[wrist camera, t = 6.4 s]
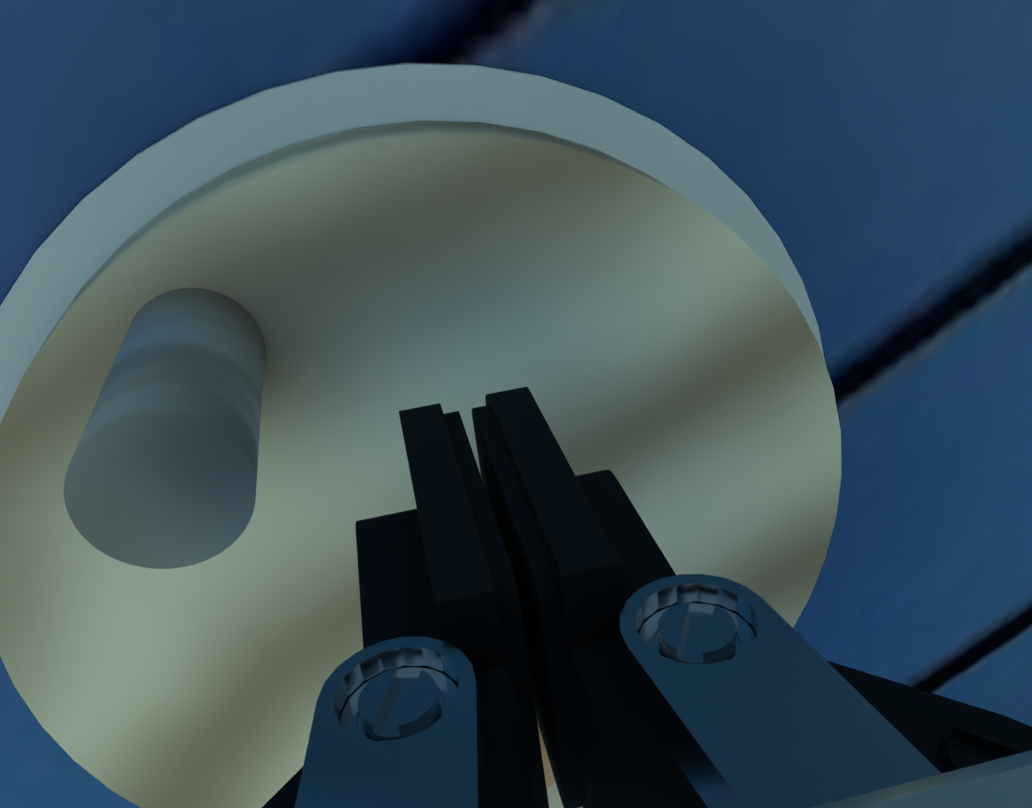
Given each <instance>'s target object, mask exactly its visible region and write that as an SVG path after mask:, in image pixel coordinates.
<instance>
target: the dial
mask: <svg viewBox="0 0 1032 808" xmlns="http://www.w3.org/2000/svg"><path fill="white" fill-rule="evenodd" d="M522 387H528V388H529V390H530V392H531V393H532V395H533V397H534V399H535V401H536V403H537V405H538V407H539V408H540V410H541V412H542V414H543V416H544V418H545V420H546V422H547V423H548V425H549V427H550V429H551V431H552V433H553V435H554V437H555V438H556V440H557V442H558V444H559V446H560V448H561V450H562V451H563V453H564V455H565V457H566V459H567V461H568V463H569V465H570V466H571V468H572V470H573V472H574V474H575V476H577V475H582V474H587V473H592V472H597V471H601V470H606V469H607V470H611V471H612V473H613V474H614V475H615V477H616V478H617V480H618V481H619V483H620V485H621V486H622V488H623V490H624V491H625V493H626V494H627V496H628V498H629V499H630V501H631V502H632V504H633V506H634V507H635V509H636V511H637V512H638V514H639V515H640V517H641V519H642V520H643V522H644V524H645V525H646V527H647V528H648V530H649V532H650V533H651V535H652V536H653V538H654V540H655V541H656V543H657V545H658V546H659V548H660V549H661V551H662V553H663V554H664V556H665V558H666V559H667V561H668V562H669V564H670V566H671V567H672V569H673V571H674V572H675V574H676V575H680V574H706V575H712V576H717V577H723V578H727V579H729V580H732V581H734V582H737V583H739V584H742V585H744V586H746V587H748V588H749V589H750V590H752V591H753V592H755V593H756V594H757V595H759V596H760V597H761V598H763V599H764V600H765V601H766V602H767V603H768V604H769V605H770V606H771V607H772V608H773V609H774V610H775V611H776V612H777V613H778V614H779V615H780V616H781V617H782V618H783V619H784V620H785V621H786V622H787V623H788V624H789V625H790V626H791V627H792V628H794V626H795V624H796V622H797V620H798V618H799V617H800V615H801V613H802V611H803V609H804V607H805V605H806V604H807V602H808V600H809V598H810V596H811V593H812V591H813V588H814V586H815V583H816V581H817V578H818V576H819V573H820V571H821V568H822V566H823V563H824V561H825V558H826V554H827V550H828V547H829V543H830V539H831V535H832V531H833V528H834V524H835V520H836V515H837V507H838V499H839V491H840V483H841V475H842V474H841V430H840V424H839V418H838V412H837V407H836V401H835V395H834V389H833V385H832V382H831V379H830V376H829V373H828V371H827V368H826V365H825V362H824V359H823V356H822V353H821V350H820V347H819V344H818V342H817V340H816V338H815V337H814V335H813V333H812V331H811V329H810V327H809V325H808V323H807V321H806V319H805V318H804V316H803V314H802V312H801V310H800V308H799V306H798V304H797V303H796V301H795V300H794V299H793V297H792V296H791V295H790V293H789V292H788V291H787V289H786V288H785V287H784V285H783V284H782V283H781V281H780V280H779V279H778V277H777V276H776V275H775V274H774V272H773V271H772V270H771V268H770V267H769V266H768V264H767V263H766V262H765V261H764V260H763V259H762V258H761V257H760V256H759V255H758V254H756V253H755V252H754V251H753V250H752V249H751V248H750V247H749V246H748V245H747V244H746V243H745V242H744V241H743V240H742V239H741V238H740V237H739V236H738V235H737V234H735V233H734V232H733V231H732V230H731V229H730V228H729V227H728V226H726V225H725V224H724V223H722V222H721V221H719V220H718V219H716V218H715V217H713V216H712V215H710V214H709V213H708V212H706V211H705V210H703V209H702V208H700V207H699V206H697V205H696V204H694V203H693V202H692V201H690V200H689V199H687V198H686V197H684V196H683V195H681V194H680V193H678V192H676V191H675V190H673V189H671V188H670V187H668V186H666V185H665V184H663V183H661V182H660V181H658V180H656V179H655V178H653V177H652V176H650V175H648V174H647V173H645V172H643V171H641V170H639V169H636V168H634V167H632V166H630V165H628V164H626V163H624V162H622V161H620V160H618V159H616V158H614V157H612V156H610V155H608V154H605V153H603V152H601V151H599V150H597V149H594V148H591V147H588V146H585V145H582V144H578V143H575V142H572V141H569V140H566V139H562V138H559V137H556V136H553V135H550V134H547V133H543V132H539V131H533V130H527V129H521V128H514V127H508V126H502V125H496V124H490V123H484V122H453V121H413V122H404V123H395V124H386V125H377V126H368V127H359V128H354V129H350V130H346V131H342V132H338V133H334V134H330V135H326V136H322V137H318V138H314V139H310V140H306V141H302V142H298V143H294V144H291V145H289V146H286V147H284V148H281V149H279V150H276V151H274V152H271V153H269V154H266V155H264V156H262V157H259V158H257V159H254V160H252V161H249V162H247V163H244V164H242V165H239V166H237V167H234V168H232V169H230V170H228V171H227V172H225V173H223V174H221V175H220V176H218V177H216V178H214V179H213V180H211V181H209V182H208V183H206V184H204V185H202V186H201V187H199V188H197V189H195V190H194V191H192V192H190V193H188V194H187V195H185V196H183V197H181V198H180V199H178V200H176V201H175V202H174V203H172V204H171V205H170V206H169V207H167V208H166V209H165V210H163V211H162V212H161V213H160V214H158V215H157V216H156V217H154V218H153V219H152V220H151V221H149V222H148V223H147V224H146V225H144V226H143V227H142V228H140V229H139V230H138V231H137V232H135V233H134V234H133V235H131V236H130V237H129V238H128V239H126V240H125V241H124V242H123V244H122V245H121V246H120V247H119V248H118V249H117V250H116V251H115V252H114V253H113V254H112V255H111V256H110V257H109V258H108V259H107V260H106V261H105V262H104V264H103V265H102V266H101V267H100V268H99V269H98V270H97V271H96V272H95V273H94V274H93V275H92V276H91V277H90V278H89V279H88V280H87V281H86V282H85V284H84V285H83V286H82V288H81V289H80V291H79V292H78V293H77V295H76V296H75V298H74V299H73V301H72V302H71V304H70V305H69V306H68V308H67V309H66V311H65V312H64V314H63V315H62V317H61V318H60V319H59V321H58V322H57V324H56V325H55V327H54V328H53V329H52V331H51V332H50V334H49V336H48V337H47V339H46V340H45V342H44V343H43V345H42V346H41V348H40V350H39V351H38V353H37V354H36V356H35V357H34V359H33V361H32V362H31V364H30V365H29V367H28V368H27V370H26V372H25V373H24V375H23V377H22V379H21V381H20V383H19V385H18V387H17V389H16V392H15V394H14V396H13V398H12V400H11V402H10V404H9V406H8V408H7V410H6V413H5V415H4V417H3V419H2V421H1V423H0V656H1V658H2V661H3V663H4V665H5V667H6V669H7V671H8V674H9V676H10V678H11V680H12V682H13V684H14V686H15V688H16V689H17V691H18V692H19V694H20V695H21V697H22V698H23V700H24V701H25V702H26V704H27V705H28V707H29V708H30V710H31V711H32V713H33V714H34V716H35V717H36V719H37V720H38V721H39V723H40V724H41V726H42V727H43V728H44V729H45V730H46V731H47V732H48V733H49V734H50V735H51V736H52V738H53V739H54V740H55V741H56V742H57V743H58V744H59V745H60V746H61V747H62V748H63V749H64V750H65V751H66V752H67V753H68V755H69V756H70V757H71V758H72V759H73V760H74V761H75V762H77V763H78V764H79V765H80V766H82V767H83V768H84V769H85V770H87V771H88V772H89V773H90V774H92V775H93V776H94V777H95V778H97V779H98V780H99V781H100V782H102V783H103V784H104V785H105V786H107V787H108V788H109V789H110V790H112V791H114V792H115V793H117V794H119V795H120V796H122V797H124V798H125V799H127V800H129V801H130V802H132V803H134V804H135V805H137V806H139V807H140V808H262V807H263V806H264V805H265V804H266V803H267V802H268V801H269V800H270V799H271V798H272V797H273V796H274V795H275V794H276V793H277V792H278V791H279V790H280V789H281V788H282V787H283V786H284V785H285V784H286V783H287V782H288V781H289V780H290V779H291V778H292V777H293V776H294V775H295V774H296V773H297V772H298V771H299V770H300V769H301V768H302V767H303V765H304V760H305V755H306V750H307V746H308V741H309V736H310V731H311V726H312V721H313V717H314V712H315V707H316V702H317V699H318V697H319V694H320V692H321V689H322V687H323V684H324V682H325V681H326V680H327V679H328V677H329V676H330V675H331V674H332V673H333V671H334V670H335V669H336V668H337V667H338V666H339V665H340V664H341V663H343V662H344V661H345V660H347V659H348V658H349V657H351V656H352V655H354V654H355V653H356V652H358V651H360V650H362V649H363V636H362V620H361V605H360V590H359V574H358V559H357V544H356V521H359V520H363V519H368V518H373V517H378V516H383V515H388V514H393V513H397V512H402V511H407V510H412V509H417V507H416V501H415V496H414V491H413V485H412V480H411V475H410V469H409V464H408V459H407V453H406V448H405V443H404V438H403V432H402V427H401V422H400V416H399V411H401V410H407V409H412V408H417V407H422V406H427V405H433V404H438V403H440V404H441V407H442V410H443V414H445V413H450V412H455V411H459V412H460V415H461V418H462V421H463V424H464V427H465V430H466V433H467V436H468V439H469V442H470V445H471V448H472V451H473V454H474V457H475V460H476V463H477V466H478V469H479V472H480V465H479V459H478V452H477V446H476V439H475V433H474V426H473V419H472V408H476V407H481V406H486V401H485V396H486V394H490V393H496V392H501V391H506V390H511V389H517V388H522ZM480 475H481V472H480ZM537 724H538V722H537ZM538 731H539V738H540V746H541V753H542V760H543V767H544V774H545V781H546V788H547V795H548V802H549V808H564V807H563V805H562V801H561V798H560V795H559V792H558V788H557V785H556V782H555V778H554V775H553V772H552V768H551V765H550V762H549V758H548V755H547V752H546V748H545V745H544V742H543V738H542V735H541V732H540V728H539V725H538ZM580 808H582V807H580Z"/></svg>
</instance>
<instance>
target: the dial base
mask: <svg viewBox="0 0 1032 808" xmlns="http://www.w3.org/2000/svg"><path fill="white" fill-rule="evenodd" d="M413 121H453V122H484V123H490V124H496V125H502V126H508V127H514V128H521V129H527V130H533V131H539V132H543V133H547V134H550V135H553V136H556V137H559V138H562V139H566V140H569V141H572V142H575V143H578V144H582V145H585V146H588V147H591V148H594V149H597V150H599V151H601V152H603V153H605V154H608V155H610V156H612V157H614V158H616V159H618V160H620V161H622V162H624V163H626V164H628V165H630V166H632V167H634V168H636V169H639V170H641V171H643V172H645V173H647V174H648V175H650V176H652V177H653V178H655V179H656V180H658V181H660V182H661V183H663V184H665V185H666V186H668V187H670V188H671V189H673V190H675V191H676V192H678V193H680V194H681V195H683V196H684V197H686V198H687V199H689V200H690V201H692V202H693V203H694V204H696V205H697V206H699V207H700V208H702V209H703V210H705V211H706V212H708V213H709V214H710V215H712V216H713V217H715V218H716V219H718V220H719V221H721V222H722V223H724V224H725V225H726V226H728V227H729V228H730V229H731V230H732V231H733V232H734V233H735V234H737V235H738V236H739V237H740V238H741V239H742V240H743V241H744V242H745V243H746V244H747V245H748V246H749V247H750V248H751V249H752V250H753V251H754V252H755V253H756V254H758V255H759V256H760V257H761V258H762V259H763V260H764V261H765V262H766V263H767V264H768V266H769V267H770V268H771V270H772V271H773V272H774V274H775V275H776V276H777V277H778V279H779V280H780V281H781V283H782V284H783V285H784V287H785V288H786V289H787V291H788V292H789V293H790V295H791V296H792V297H793V299H794V300H795V301H796V303H797V304H798V306H799V308H800V310H801V312H802V314H803V316H804V318H805V319H806V321H807V323H808V325H809V327H810V329H811V331H812V333H813V335H814V337H815V338H816V340H817V342H818V344H819V347H820V350H821V353H822V356H823V359H824V354H823V349H822V343H821V338H820V333H819V327H818V324H817V321H816V318H815V315H814V312H813V309H812V307H811V304H810V301H809V298H808V295H807V292H806V290H805V287H804V284H803V281H802V279H801V277H800V275H799V273H798V272H797V270H796V268H795V266H794V264H793V262H792V260H791V259H790V257H789V255H788V253H787V251H786V249H785V247H784V246H783V244H782V242H781V240H780V238H779V236H778V235H777V234H776V232H775V231H774V230H773V228H772V227H771V226H770V224H769V223H768V222H767V221H766V219H765V218H764V217H763V215H762V214H761V213H760V211H759V210H758V209H757V207H756V206H755V205H754V203H753V202H752V201H751V200H750V198H749V197H748V196H747V194H745V193H744V192H743V191H742V190H741V189H740V188H739V187H738V186H737V185H736V184H735V183H734V182H733V181H732V180H731V179H730V178H729V177H728V176H727V175H726V174H725V173H724V172H723V171H721V170H720V169H719V168H718V167H717V166H716V165H715V164H714V163H713V162H712V161H711V160H710V159H709V158H708V157H707V156H705V155H704V154H702V153H701V152H699V151H698V150H697V149H695V148H694V147H692V146H691V145H689V144H688V143H687V142H685V141H684V140H682V139H681V138H679V137H678V136H676V135H675V134H674V133H672V132H671V131H669V130H668V129H666V128H665V127H664V126H662V125H661V124H659V123H657V122H655V121H653V120H651V119H649V118H647V117H645V116H643V115H641V114H639V113H637V112H635V111H633V110H631V109H628V108H626V107H624V106H622V105H620V104H618V103H616V102H614V101H612V100H610V99H608V98H606V97H604V96H602V95H600V94H596V93H593V92H590V91H587V90H584V89H581V88H578V87H575V86H571V85H568V84H565V83H562V82H559V81H556V80H553V79H550V78H547V77H543V76H540V75H536V74H530V73H524V72H518V71H512V70H506V69H500V68H494V67H488V66H482V65H476V64H447V63H396V64H388V65H379V66H370V67H362V68H353V69H345V70H336V71H331V72H328V73H324V74H320V75H316V76H312V77H309V78H305V79H301V80H297V81H293V82H289V83H286V84H282V85H278V86H274V87H270V88H266V89H264V90H261V91H259V92H256V93H254V94H252V95H249V96H247V97H244V98H242V99H240V100H237V101H235V102H233V103H230V104H228V105H225V106H223V107H221V108H218V109H216V110H213V111H211V112H209V113H206V114H204V115H202V116H199V117H197V118H196V119H194V120H192V121H191V122H189V123H187V124H186V125H184V126H182V127H181V128H179V129H177V130H176V131H174V132H172V133H171V134H169V135H167V136H166V137H164V138H162V139H161V140H159V141H157V142H156V143H154V144H152V145H151V146H149V147H147V148H146V149H144V150H142V151H141V152H139V153H138V154H136V155H135V156H134V157H133V158H131V159H130V160H129V161H128V162H127V163H125V164H124V165H123V166H122V167H120V168H119V169H118V170H117V171H116V172H114V173H113V174H112V175H111V176H110V177H108V178H107V179H106V180H105V181H103V182H102V183H101V184H100V185H99V186H97V187H96V188H95V189H94V190H92V191H91V192H90V193H89V194H88V195H86V196H85V197H84V198H83V199H82V200H81V201H80V203H79V204H78V205H77V206H76V207H75V208H74V209H73V210H72V212H71V213H70V214H69V215H68V216H67V217H66V218H65V219H64V220H63V222H62V223H61V224H60V225H59V226H58V227H57V228H56V229H55V230H54V232H53V233H52V234H51V235H50V236H49V237H48V238H47V239H46V240H45V242H44V243H43V244H42V245H41V246H40V247H39V248H38V250H37V251H36V252H35V253H34V255H33V256H32V258H31V259H30V261H29V262H28V264H27V265H26V267H25V268H24V270H23V272H22V273H21V275H20V276H19V278H18V279H17V281H16V282H15V284H14V286H13V287H12V289H11V290H10V292H9V293H8V295H7V296H6V298H5V300H4V301H3V303H2V304H1V306H0V423H1V421H2V419H3V417H4V415H5V413H6V410H7V408H8V406H9V404H10V402H11V400H12V398H13V396H14V394H15V392H16V389H17V387H18V385H19V383H20V381H21V379H22V377H23V375H24V373H25V372H26V370H27V368H28V367H29V365H30V364H31V362H32V361H33V359H34V357H35V356H36V354H37V353H38V351H39V350H40V348H41V346H42V345H43V343H44V342H45V340H46V339H47V337H48V336H49V334H50V332H51V331H52V329H53V328H54V327H55V325H56V324H57V322H58V321H59V319H60V318H61V317H62V315H63V314H64V312H65V311H66V309H67V308H68V306H69V305H70V304H71V302H72V301H73V299H74V298H75V296H76V295H77V293H78V292H79V291H80V289H81V288H82V286H83V285H84V284H85V282H86V281H87V280H88V279H89V278H90V277H91V276H92V275H93V274H94V273H95V272H96V271H97V270H98V269H99V268H100V267H101V266H102V265H103V264H104V262H105V261H106V260H107V259H108V258H109V257H110V256H111V255H112V254H113V253H114V252H115V251H116V250H117V249H118V248H119V247H120V246H121V245H122V244H123V242H124V241H125V240H126V239H128V238H129V237H130V236H131V235H133V234H134V233H135V232H137V231H138V230H139V229H140V228H142V227H143V226H144V225H146V224H147V223H148V222H149V221H151V220H152V219H153V218H154V217H156V216H157V215H158V214H160V213H161V212H162V211H163V210H165V209H166V208H167V207H169V206H170V205H171V204H172V203H174V202H175V201H176V200H178V199H180V198H181V197H183V196H185V195H187V194H188V193H190V192H192V191H194V190H195V189H197V188H199V187H201V186H202V185H204V184H206V183H208V182H209V181H211V180H213V179H214V178H216V177H218V176H220V175H221V174H223V173H225V172H227V171H228V170H230V169H232V168H234V167H237V166H239V165H242V164H244V163H247V162H249V161H252V160H254V159H257V158H259V157H262V156H264V155H266V154H269V153H271V152H274V151H276V150H279V149H281V148H284V147H286V146H289V145H291V144H294V143H298V142H302V141H306V140H310V139H314V138H318V137H322V136H326V135H330V134H334V133H338V132H342V131H346V130H350V129H354V128H359V127H368V126H377V125H386V124H395V123H404V122H413ZM824 362H825V359H824ZM825 365H826V364H825Z"/></svg>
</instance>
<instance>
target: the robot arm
mask: <svg viewBox="0 0 1032 808" xmlns="http://www.w3.org/2000/svg"><path fill="white" fill-rule="evenodd" d="M485 401H486V406H481V407H476V408H472V419H473V426H474V433H475V439H476V446H477V452H478V459H479V465H480V472H481V475H480V472H479V469H478V466H477V463H476V460H475V457H474V454H473V451H472V448H471V445H470V442H469V439H468V436H467V433H466V430H465V427H464V424H463V421H462V418H461V415H460V412H459V411H455V412H450V413H445V414H443V410H442V407H441V404H440V403H438V404H433V405H427V406H422V407H417V408H412V409H407V410H401V411H399V416H400V422H401V427H402V432H403V438H404V443H405V448H406V453H407V459H408V464H409V469H410V475H411V480H412V485H413V491H414V496H415V501H416V507H417V509H412V510H407V511H402V512H397V513H393V514H388V515H383V516H378V517H373V518H368V519H363V520H359V521H356V544H357V559H358V574H359V590H360V605H361V620H362V636H363V649H362V650H360V651H358V652H356V653H355V654H354V655H352V656H351V657H349V658H348V659H347V660H345V661H344V662H343V663H341V664H340V665H339V666H338V667H337V668H336V669H335V670H334V671H333V673H332V674H331V675H330V676H329V677H328V679H327V680H326V681H325V682H324V684H323V687H322V689H321V692H320V694H319V697H318V699H317V702H316V707H315V712H314V717H313V721H312V726H311V731H310V736H309V741H308V746H307V750H306V755H305V760H304V765H303V767H302V768H301V769H300V770H299V771H298V772H297V773H296V774H295V775H294V776H293V777H292V778H291V779H290V780H289V781H288V782H287V783H286V784H285V785H284V786H283V787H282V788H281V789H280V790H279V791H278V792H277V793H276V794H275V795H274V796H273V797H272V798H271V799H270V800H269V801H268V802H267V803H266V804H265V805H264V806H263V807H262V808H549V802H548V795H547V788H546V781H545V774H544V767H543V760H542V753H541V746H540V738H539V731H538V725H539V728H540V732H541V735H542V738H543V742H544V745H545V748H546V752H547V755H548V758H549V762H550V765H551V768H552V772H553V775H554V778H555V782H556V785H557V788H558V792H559V795H560V798H561V801H562V805H563V807H564V808H580V807H582V808H1032V727H1030V726H1028V725H1025V724H1023V723H1021V722H1018V721H1016V720H1013V719H1011V718H1009V717H1006V716H1004V715H1000V714H997V713H994V712H991V711H987V710H984V709H981V708H978V707H975V706H971V705H968V704H965V703H962V702H958V701H955V700H952V699H949V698H946V697H942V696H939V695H936V694H933V693H929V692H926V691H923V690H920V689H916V688H913V687H910V686H907V685H904V684H900V683H897V682H894V681H891V680H887V679H884V678H881V677H878V676H875V675H871V674H868V673H865V672H862V671H858V670H855V669H852V668H849V667H845V666H842V665H839V664H836V663H833V662H829V661H826V660H825V659H824V658H823V657H822V656H821V655H820V654H819V653H818V652H817V651H816V650H815V649H814V648H813V647H812V646H811V645H810V644H809V643H808V642H807V641H806V640H805V639H804V638H803V637H801V636H800V635H799V634H798V633H797V632H796V631H795V630H794V629H793V628H792V627H791V626H790V625H789V624H788V623H787V622H786V621H785V620H784V619H783V618H782V617H781V616H780V615H779V614H778V613H777V612H776V611H775V610H774V609H773V608H772V607H771V606H770V605H769V604H768V603H767V602H766V601H765V600H764V599H763V598H761V597H760V596H759V595H757V594H756V593H755V592H753V591H752V590H750V589H749V588H748V587H746V586H744V585H742V584H739V583H737V582H734V581H732V580H729V579H727V578H723V577H717V576H712V575H706V574H680V575H676V574H675V572H674V571H673V569H672V567H671V566H670V564H669V562H668V561H667V559H666V558H665V556H664V554H663V553H662V551H661V549H660V548H659V546H658V545H657V543H656V541H655V540H654V538H653V536H652V535H651V533H650V532H649V530H648V528H647V527H646V525H645V524H644V522H643V520H642V519H641V517H640V515H639V514H638V512H637V511H636V509H635V507H634V506H633V504H632V502H631V501H630V499H629V498H628V496H627V494H626V493H625V491H624V490H623V488H622V486H621V485H620V483H619V481H618V480H617V478H616V477H615V475H614V474H613V473H612V471H611V470H607V469H606V470H601V471H597V472H592V473H587V474H582V475H577V476H575V474H574V472H573V470H572V468H571V466H570V465H569V463H568V461H567V459H566V457H565V455H564V453H563V451H562V450H561V448H560V446H559V444H558V442H557V440H556V438H555V437H554V435H553V433H552V431H551V429H550V427H549V425H548V423H547V422H546V420H545V418H544V416H543V414H542V412H541V410H540V408H539V407H538V405H537V403H536V401H535V399H534V397H533V395H532V393H531V392H530V390H529V388H528V387H522V388H517V389H511V390H506V391H501V392H496V393H490V394H486V396H485ZM537 722H538V724H537Z"/></svg>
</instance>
